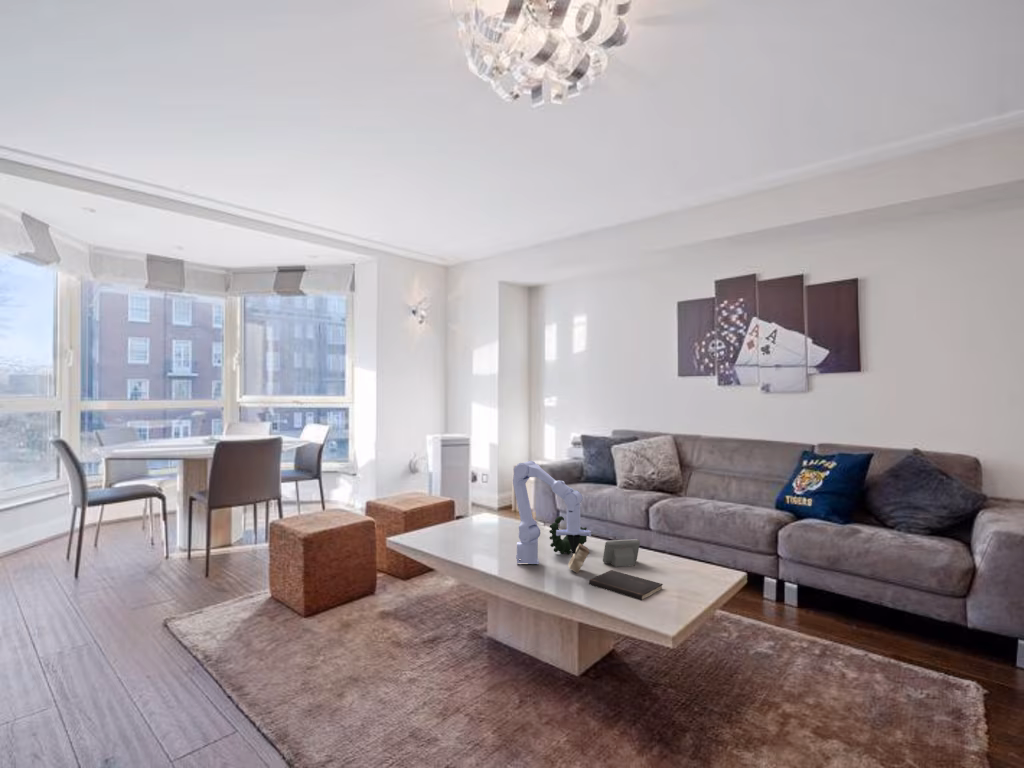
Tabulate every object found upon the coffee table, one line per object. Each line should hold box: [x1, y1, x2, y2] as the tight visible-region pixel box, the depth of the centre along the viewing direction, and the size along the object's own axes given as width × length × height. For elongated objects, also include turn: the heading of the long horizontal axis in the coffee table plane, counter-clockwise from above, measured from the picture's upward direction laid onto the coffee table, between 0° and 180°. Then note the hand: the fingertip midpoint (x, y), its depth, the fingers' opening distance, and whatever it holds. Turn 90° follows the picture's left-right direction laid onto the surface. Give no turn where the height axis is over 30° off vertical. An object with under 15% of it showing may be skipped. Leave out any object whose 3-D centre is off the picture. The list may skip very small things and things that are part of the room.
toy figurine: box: [548, 515, 588, 555], centre depth 244 cm, size 9×19×25 cm
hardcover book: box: [588, 569, 664, 601], centre depth 199 cm, size 16×23×2 cm
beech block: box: [568, 543, 590, 574], centre depth 217 cm, size 4×6×10 cm, turn 178°
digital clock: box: [602, 538, 641, 568], centre depth 226 cm, size 16×9×11 cm, turn 90°
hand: (573, 552), depth 217 cm, fingers closed
